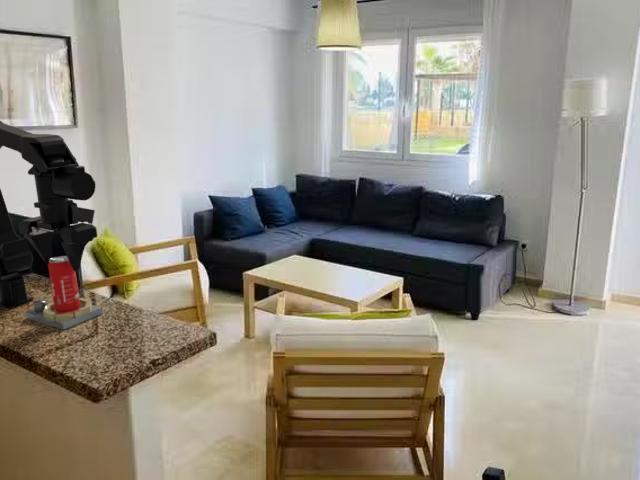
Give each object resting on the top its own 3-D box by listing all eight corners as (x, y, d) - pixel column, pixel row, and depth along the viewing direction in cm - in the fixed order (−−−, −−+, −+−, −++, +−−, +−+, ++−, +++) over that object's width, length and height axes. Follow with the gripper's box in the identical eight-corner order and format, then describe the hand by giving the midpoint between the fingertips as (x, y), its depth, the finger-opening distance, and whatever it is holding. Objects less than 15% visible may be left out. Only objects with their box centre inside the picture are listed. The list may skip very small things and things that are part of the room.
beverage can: (71, 316, 123) (63, 263, 120) (50, 314, 124) (42, 261, 121) (85, 307, 128) (78, 256, 125) (65, 305, 129) (58, 255, 126)
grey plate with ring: (26, 318, 126) (24, 303, 126) (66, 303, 135) (64, 289, 134) (63, 330, 120) (61, 314, 119) (103, 313, 128) (101, 299, 127)
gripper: (114, 193, 122) (121, 263, 126) (58, 187, 131) (67, 252, 135) (68, 203, 112) (78, 278, 116) (12, 195, 122) (23, 265, 126)
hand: (62, 267), depth 124 cm, fingers open, 9 cm apart
